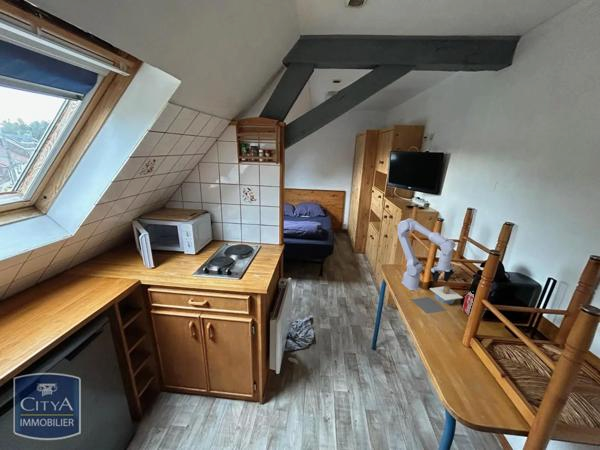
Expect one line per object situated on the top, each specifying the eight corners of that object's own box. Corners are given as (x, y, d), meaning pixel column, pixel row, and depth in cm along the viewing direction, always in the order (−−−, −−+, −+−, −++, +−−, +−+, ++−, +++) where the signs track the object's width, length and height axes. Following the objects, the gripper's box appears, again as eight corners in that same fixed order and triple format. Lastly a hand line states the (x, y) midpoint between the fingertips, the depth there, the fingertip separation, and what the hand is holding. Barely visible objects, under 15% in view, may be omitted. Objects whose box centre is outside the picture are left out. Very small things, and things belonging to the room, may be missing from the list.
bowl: (430, 295, 147) (432, 289, 146) (444, 293, 149) (445, 287, 148) (443, 305, 138) (445, 299, 136) (458, 303, 140) (459, 297, 139)
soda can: (479, 319, 127) (485, 299, 124) (464, 316, 129) (470, 297, 125) (473, 310, 134) (479, 291, 130) (459, 308, 135) (464, 289, 132)
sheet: (429, 288, 146) (431, 282, 145) (445, 286, 149) (447, 280, 148) (445, 300, 135) (447, 293, 134) (462, 298, 138) (464, 291, 137)
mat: (410, 299, 142) (410, 299, 141) (429, 297, 145) (429, 296, 145) (426, 314, 130) (426, 313, 129) (446, 311, 133) (446, 310, 133)
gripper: (439, 264, 133) (435, 286, 137) (461, 262, 136) (456, 283, 140) (430, 259, 139) (425, 280, 143) (450, 257, 143) (446, 277, 147)
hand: (440, 281), depth 142 cm, fingers open, 7 cm apart
